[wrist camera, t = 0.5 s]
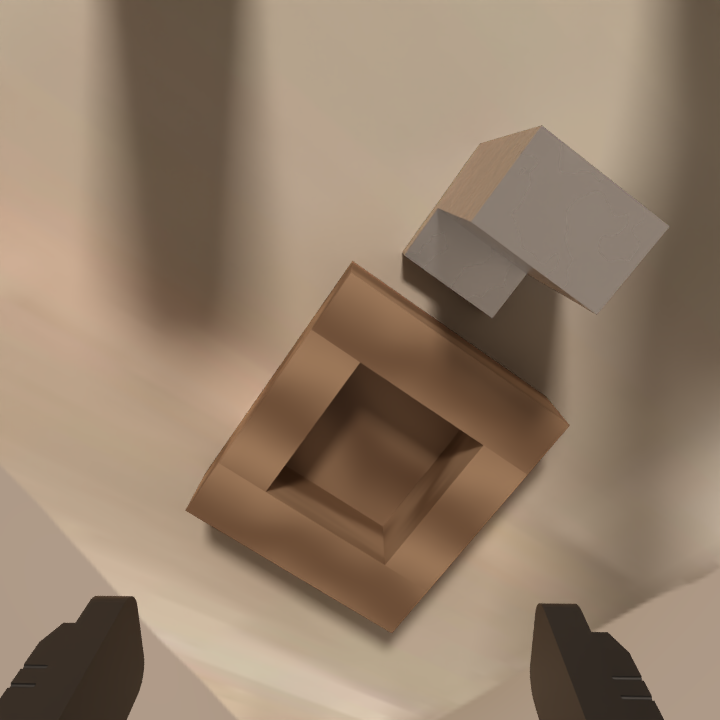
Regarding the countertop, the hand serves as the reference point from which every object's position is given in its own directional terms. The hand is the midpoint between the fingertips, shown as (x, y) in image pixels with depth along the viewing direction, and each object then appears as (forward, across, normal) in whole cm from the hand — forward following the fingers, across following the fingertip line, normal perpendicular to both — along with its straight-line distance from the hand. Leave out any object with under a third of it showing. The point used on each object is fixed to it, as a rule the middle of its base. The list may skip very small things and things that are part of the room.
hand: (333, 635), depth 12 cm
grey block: (+25, -7, -5) cm, 26 cm away
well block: (+25, -1, +7) cm, 26 cm away
